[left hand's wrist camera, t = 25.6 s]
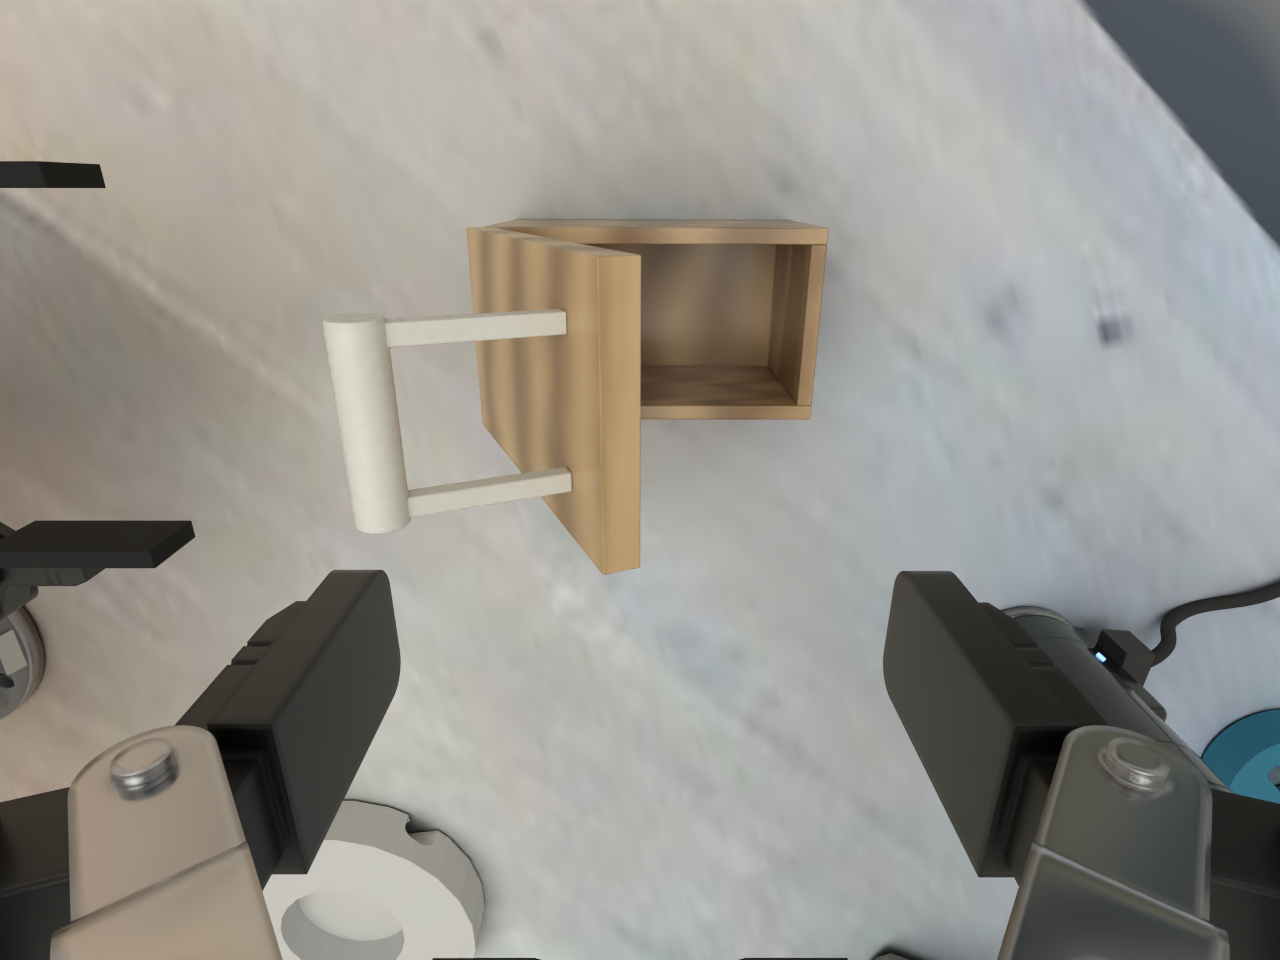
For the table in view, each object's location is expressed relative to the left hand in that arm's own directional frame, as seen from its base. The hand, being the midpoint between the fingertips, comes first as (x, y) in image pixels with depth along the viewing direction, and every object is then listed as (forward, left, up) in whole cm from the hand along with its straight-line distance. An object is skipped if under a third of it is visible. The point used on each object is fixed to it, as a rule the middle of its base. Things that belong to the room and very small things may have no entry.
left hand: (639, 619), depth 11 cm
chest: (-1, 0, -37) cm, 37 cm away
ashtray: (+22, +55, -37) cm, 70 cm away
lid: (+3, 0, -19) cm, 19 cm away
